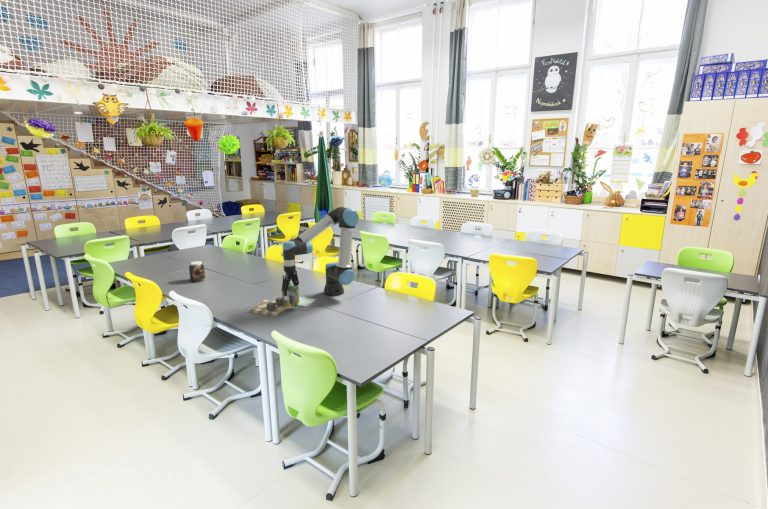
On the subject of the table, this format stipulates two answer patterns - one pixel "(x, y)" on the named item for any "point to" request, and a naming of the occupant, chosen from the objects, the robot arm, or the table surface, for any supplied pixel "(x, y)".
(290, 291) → the chalk box
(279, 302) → the switch
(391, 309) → the table surface
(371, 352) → the table surface
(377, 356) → the table surface
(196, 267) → the jar
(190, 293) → the table surface
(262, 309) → the switch panel
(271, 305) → the switch
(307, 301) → the mat
